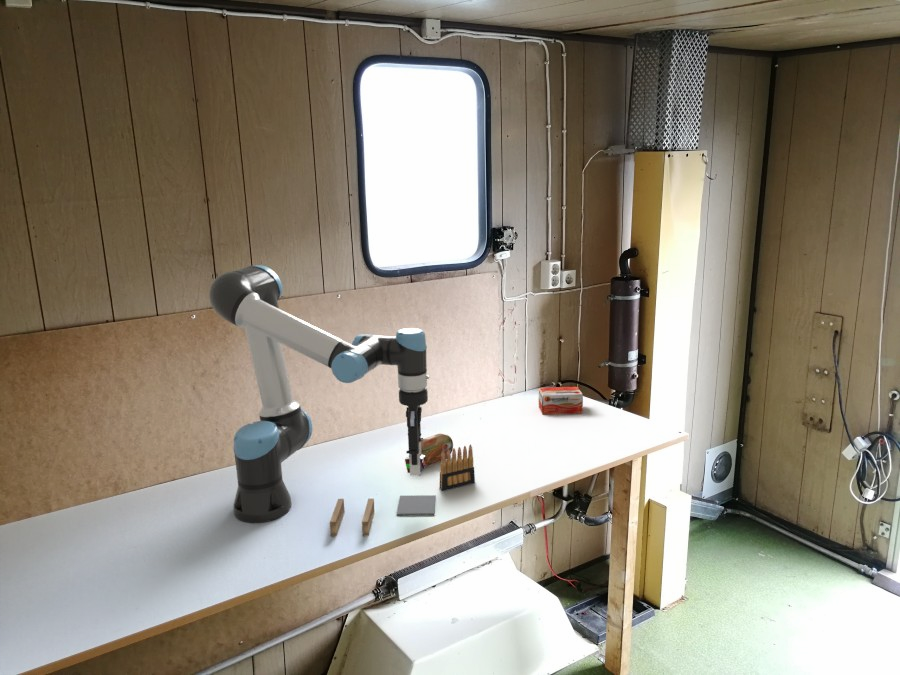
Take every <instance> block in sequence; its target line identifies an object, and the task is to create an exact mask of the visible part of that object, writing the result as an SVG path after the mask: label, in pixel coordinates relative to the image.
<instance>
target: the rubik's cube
mask: <svg viewBox="0 0 900 675" xmlns="http://www.w3.org/2000/svg"><path fill="white" fill-rule="evenodd" d="M425 459H426V455H422V454H420V474H421V473H422V472H423V470H425V467H424V466H425ZM404 462H405V463H404V464H405V466H406V471H407V474H410V461H409V456H408V457H406V458H405V459H404Z"/></svg>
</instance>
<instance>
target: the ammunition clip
mask: <svg viewBox="0 0 900 675" xmlns="http://www.w3.org/2000/svg"><path fill="white" fill-rule="evenodd" d="M473 452H474V451H473V447H472V444H469V446H468V451H467V446H466V445H464V446H463V449H461V447H458V448H457V452H456V449H455V447H453V450H452V453H451V454H450V451H449V449H448V451H447V459H446V460H445V453H444V451H442V454H441V462H440V472H439V489H440V490H441V491H442V492H445V491H448V490H453V489H456V488H461V487H466V486H469V485H473V484H475V483H476V477H475V466H474V453H473Z"/></svg>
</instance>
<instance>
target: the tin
mask: <svg viewBox="0 0 900 675" xmlns="http://www.w3.org/2000/svg"><path fill="white" fill-rule="evenodd" d="M419 442H421V454H422V455H426V459H425V466H424V468H427V467H430V466H432V465H435V464H438V463H441V454H442V451H444V453H445V461H446V459H447V451H448V449H449V451H450V455H452V451H453V448H454V442H453V439H452V438H451V437H450V435H448V434H444V433H437V434H434V435H431V436H428V437H426V438H425V437H424V438H423V441H419Z"/></svg>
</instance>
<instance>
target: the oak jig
mask: <svg viewBox="0 0 900 675" xmlns="http://www.w3.org/2000/svg"><path fill="white" fill-rule="evenodd" d="M345 512H346V511H345V498H338V499H337V501H336V503H335V507H334V510H333V512H332V515H331V517H330V520H329V530H330V531H329V532H330V537H338V534H339V531H340V526H341V525H342V521H343V518H344V515H345ZM374 515H375V499H374V498H368V499H367V502H366V506H365V510H364V513H363V515H362V521H361V529H362V536H363V537H368V536H369V535H370V532H371V529H372V528H371V527H372V523H373V519H374V517H375V516H374Z"/></svg>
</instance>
